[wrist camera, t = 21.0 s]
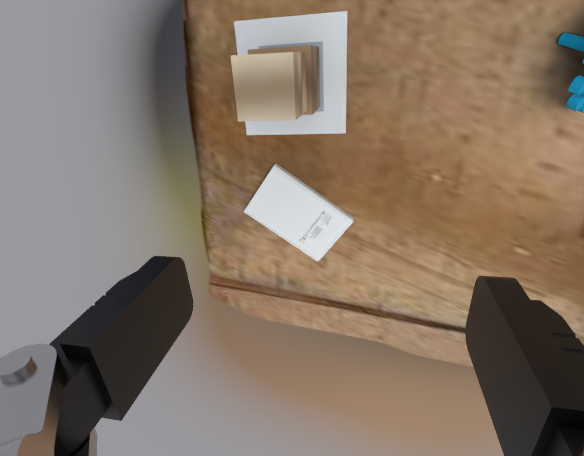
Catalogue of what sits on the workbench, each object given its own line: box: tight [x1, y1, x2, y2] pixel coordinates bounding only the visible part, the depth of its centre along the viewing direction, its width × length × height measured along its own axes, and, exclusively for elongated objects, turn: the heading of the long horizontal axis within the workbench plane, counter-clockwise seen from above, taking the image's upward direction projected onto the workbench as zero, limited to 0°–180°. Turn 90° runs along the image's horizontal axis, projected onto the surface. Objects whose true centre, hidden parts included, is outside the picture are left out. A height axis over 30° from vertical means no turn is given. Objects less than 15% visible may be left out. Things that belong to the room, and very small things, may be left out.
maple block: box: [231, 52, 307, 121], centre depth 30 cm, size 5×5×6 cm
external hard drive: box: [244, 163, 354, 262], centre depth 45 cm, size 2×8×12 cm
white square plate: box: [234, 11, 347, 135], centre depth 38 cm, size 12×12×1 cm
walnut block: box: [247, 45, 320, 115], centre depth 35 cm, size 6×6×6 cm
